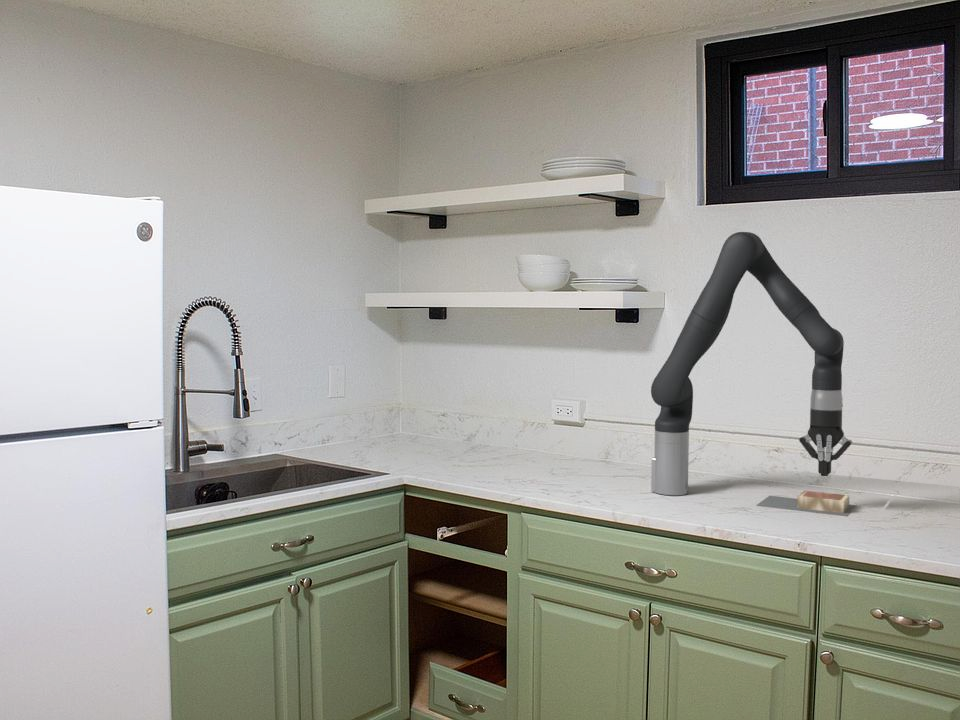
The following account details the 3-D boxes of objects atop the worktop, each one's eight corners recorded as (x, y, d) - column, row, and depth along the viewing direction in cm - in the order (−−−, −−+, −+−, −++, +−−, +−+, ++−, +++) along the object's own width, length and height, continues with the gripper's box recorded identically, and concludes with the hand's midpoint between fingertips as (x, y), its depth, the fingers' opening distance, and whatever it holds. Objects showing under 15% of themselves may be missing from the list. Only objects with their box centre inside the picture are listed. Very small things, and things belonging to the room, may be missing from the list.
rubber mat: (755, 507, 232) (755, 505, 232) (769, 497, 244) (769, 495, 244) (847, 518, 221) (847, 516, 220) (856, 507, 232) (856, 505, 232)
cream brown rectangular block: (797, 495, 229) (843, 500, 224) (804, 490, 236) (849, 495, 230) (797, 507, 229) (843, 513, 224) (804, 501, 236) (849, 506, 231)
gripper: (795, 407, 229) (794, 475, 230) (851, 410, 222) (850, 480, 223) (802, 404, 235) (800, 470, 236) (856, 407, 228) (855, 475, 229)
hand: (824, 475), depth 229 cm, fingers closed
